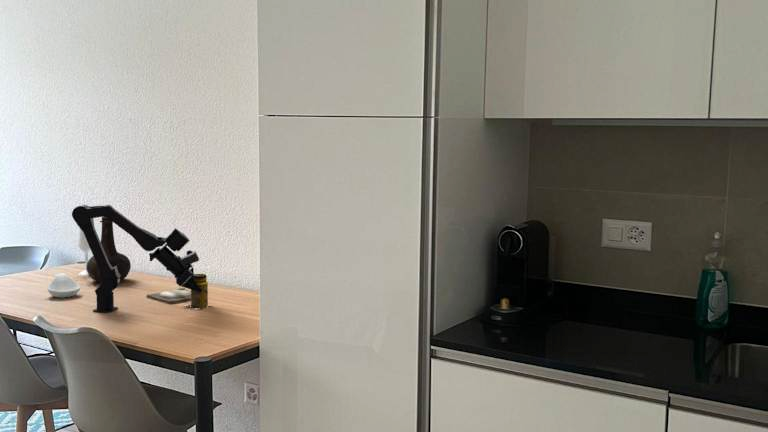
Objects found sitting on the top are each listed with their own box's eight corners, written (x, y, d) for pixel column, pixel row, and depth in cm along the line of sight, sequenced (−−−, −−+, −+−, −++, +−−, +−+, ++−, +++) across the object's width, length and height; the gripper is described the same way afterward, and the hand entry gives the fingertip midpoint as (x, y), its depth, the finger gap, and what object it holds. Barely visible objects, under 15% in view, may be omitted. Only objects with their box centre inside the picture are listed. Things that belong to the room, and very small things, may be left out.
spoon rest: (83, 298, 291) (82, 280, 291) (50, 301, 285) (49, 282, 285) (73, 286, 312) (72, 269, 311) (42, 289, 305) (41, 272, 305)
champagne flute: (85, 275, 334) (84, 221, 331) (75, 273, 337) (74, 220, 335) (98, 273, 340) (96, 220, 337) (88, 271, 343) (86, 219, 340)
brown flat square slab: (169, 304, 283) (169, 299, 283) (146, 297, 293) (146, 292, 293) (205, 297, 295) (205, 292, 295) (181, 291, 306) (181, 286, 305)
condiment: (212, 306, 282) (212, 274, 280) (197, 310, 274) (196, 278, 273) (198, 303, 285) (197, 272, 284) (182, 308, 278) (181, 276, 276)
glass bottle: (113, 287, 311) (111, 220, 308) (77, 283, 317) (75, 217, 313) (139, 279, 328) (138, 215, 325) (105, 276, 334) (103, 213, 330)
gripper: (185, 248, 267) (217, 278, 271) (185, 240, 285) (216, 268, 289) (162, 271, 266) (195, 300, 270) (164, 262, 284) (195, 289, 288)
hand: (201, 288), depth 279 cm, fingers open, 9 cm apart
